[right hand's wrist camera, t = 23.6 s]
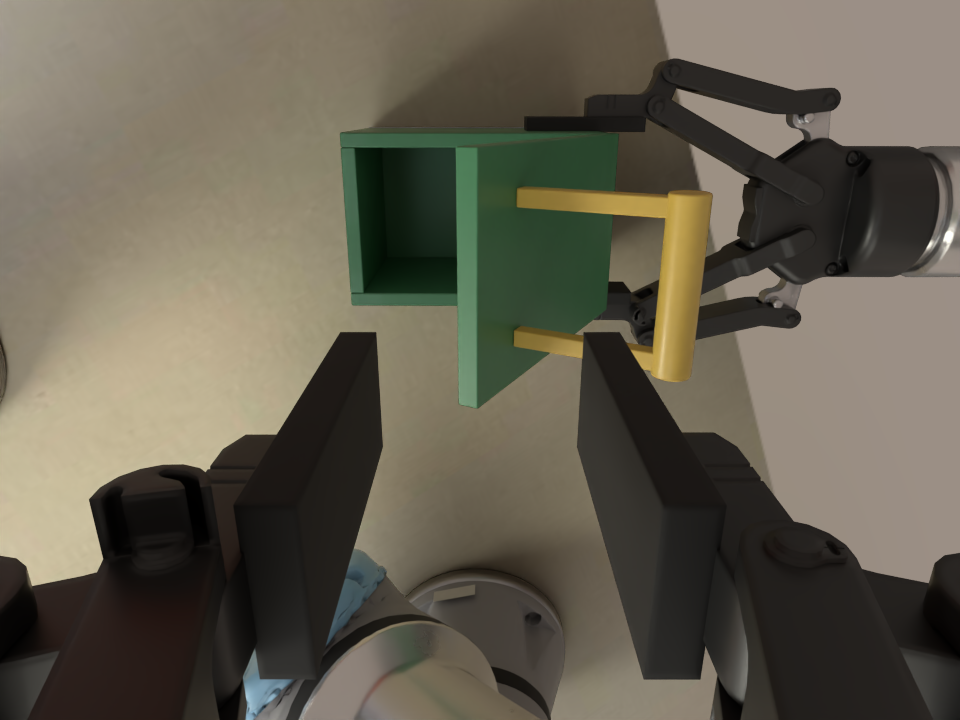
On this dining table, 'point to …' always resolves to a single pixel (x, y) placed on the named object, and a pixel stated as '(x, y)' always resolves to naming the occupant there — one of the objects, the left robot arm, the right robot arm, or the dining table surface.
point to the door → (561, 258)
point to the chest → (409, 209)
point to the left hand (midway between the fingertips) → (523, 212)
